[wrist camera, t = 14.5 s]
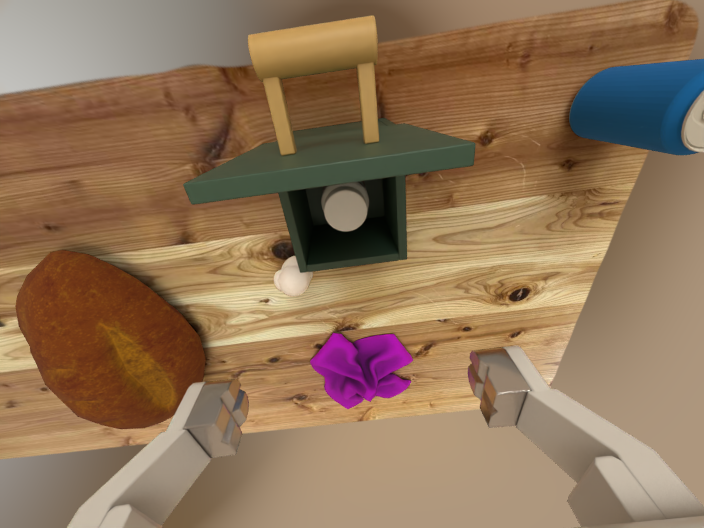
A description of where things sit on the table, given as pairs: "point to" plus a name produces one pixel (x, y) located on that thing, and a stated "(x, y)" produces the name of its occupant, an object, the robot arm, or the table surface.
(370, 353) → the cloth
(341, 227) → the pill bottle
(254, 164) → the bin lid
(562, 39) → the table surface
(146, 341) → the bread
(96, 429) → the table surface
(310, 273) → the microfossil shell
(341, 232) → the bin
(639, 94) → the beverage can
